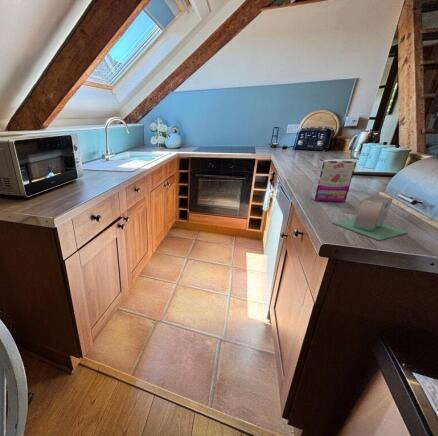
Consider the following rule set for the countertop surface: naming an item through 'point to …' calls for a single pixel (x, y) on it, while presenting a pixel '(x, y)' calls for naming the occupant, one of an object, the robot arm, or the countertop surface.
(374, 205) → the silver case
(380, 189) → the countertop surface
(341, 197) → the candy bar box
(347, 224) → the green mat
